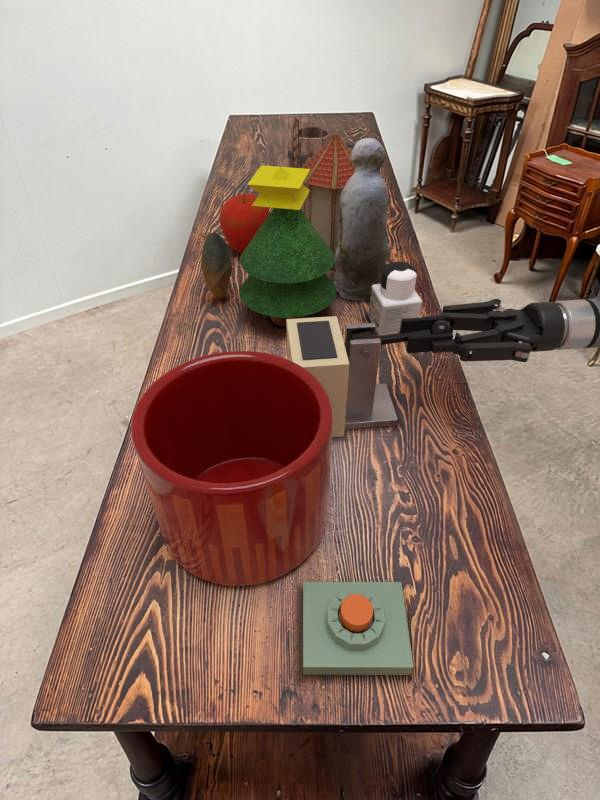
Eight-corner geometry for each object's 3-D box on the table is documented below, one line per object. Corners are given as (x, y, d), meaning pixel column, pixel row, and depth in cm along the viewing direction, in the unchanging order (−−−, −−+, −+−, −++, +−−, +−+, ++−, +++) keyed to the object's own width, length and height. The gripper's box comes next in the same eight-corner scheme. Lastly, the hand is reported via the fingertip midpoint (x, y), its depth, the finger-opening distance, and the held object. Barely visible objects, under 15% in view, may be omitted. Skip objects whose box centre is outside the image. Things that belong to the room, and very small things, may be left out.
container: (368, 317, 111) (373, 259, 102) (403, 312, 112) (412, 255, 103) (379, 339, 105) (386, 280, 96) (417, 334, 106) (427, 275, 97)
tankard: (276, 221, 143) (273, 142, 130) (283, 196, 156) (281, 121, 142) (364, 225, 142) (371, 145, 128) (364, 198, 154) (370, 123, 140)
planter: (160, 465, 82) (131, 362, 68) (307, 441, 85) (308, 339, 72) (164, 608, 65) (127, 510, 52) (346, 571, 69) (357, 470, 55)
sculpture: (382, 271, 124) (398, 132, 104) (387, 305, 114) (405, 158, 93) (333, 270, 125) (339, 131, 104) (332, 304, 114) (339, 157, 94)
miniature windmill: (286, 228, 141) (283, 101, 120) (361, 229, 140) (371, 101, 120) (280, 275, 123) (275, 135, 103) (366, 276, 122) (378, 136, 102)
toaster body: (333, 387, 95) (336, 314, 84) (344, 436, 86) (349, 362, 76) (288, 390, 94) (286, 317, 84) (294, 440, 86) (293, 366, 75)
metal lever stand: (385, 389, 94) (395, 313, 84) (397, 425, 88) (410, 348, 77) (317, 394, 94) (319, 318, 83) (324, 431, 87) (327, 354, 76)
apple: (236, 236, 138) (231, 180, 128) (280, 243, 134) (278, 187, 125) (214, 258, 129) (207, 200, 119) (259, 267, 126) (256, 208, 116)
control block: (399, 590, 67) (403, 574, 64) (410, 675, 60) (416, 660, 57) (303, 590, 67) (303, 574, 64) (302, 674, 60) (302, 660, 57)
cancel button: (370, 601, 62) (371, 593, 61) (373, 632, 60) (374, 625, 58) (339, 601, 62) (339, 593, 61) (340, 632, 60) (341, 625, 58)
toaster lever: (447, 333, 84) (450, 314, 81) (454, 347, 81) (457, 328, 79) (351, 346, 84) (350, 327, 81) (355, 360, 81) (354, 341, 79)
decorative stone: (230, 312, 112) (222, 245, 102) (201, 310, 113) (191, 244, 103) (239, 288, 119) (233, 223, 109) (212, 286, 120) (204, 221, 110)
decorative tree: (325, 350, 103) (331, 194, 82) (229, 337, 106) (212, 184, 85) (342, 296, 116) (350, 151, 96) (256, 287, 119) (246, 144, 99)
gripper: (570, 379, 79) (415, 391, 78) (524, 315, 91) (389, 324, 90) (589, 338, 74) (422, 350, 72) (538, 276, 86) (394, 284, 85)
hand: (404, 335), depth 81 cm, fingers closed on toaster lever, 4 cm apart
